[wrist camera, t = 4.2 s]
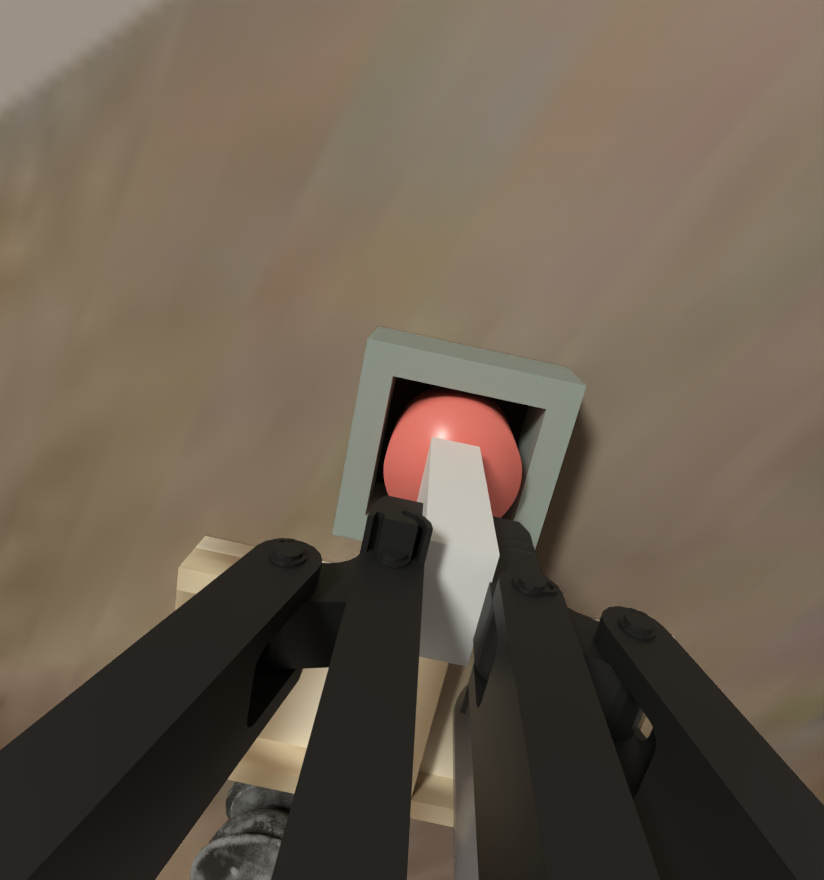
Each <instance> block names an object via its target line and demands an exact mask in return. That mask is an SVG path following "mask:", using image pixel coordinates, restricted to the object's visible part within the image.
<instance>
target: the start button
mask: <svg viewBox="0 0 824 880" xmlns="http://www.w3.org/2000/svg"><path fill="white" fill-rule="evenodd" d="M432 437H436V438H441V439H445V440H450V441H455V442H459V443H464V444H469V445H473V446H478V447H480V451H481V456H482V462H483V467H484V473H485V478H486V484H487V489H488V494H489V500H490V505H491V511H492V516H494V517H499V518H501V517H502V516H503V515H504V514H505V513H506V512H507V511H508V509H509V508H510V507H511V505H512V504H513V502H514V500H515V498H516V496H517V494H518V491H519V488H520V484H521V479H522V463H521V458H520V454H519V451H518V448H517V445H516V442H515V440H514V437H513V434H512V431H511V428H510V425H509V423H508V420H507V418H506V416H505V414H504V412H503V411H502V410H501V408H500V407H499V406H498V405H497V404H496V402H495V401H494V400H492V399H491V398H490V397H487V396H483V395H478V394H474V393H469V392H464V391H460V390H455V389H450V388H446V387H441V386H438V387H434V388H431V389H429V390H426V391H424V392H422V393H420V394H419V395H417V396H416V397H415V398H413V399H412V400H411V401H410V402H409V403H408V404H407V405H406V406H405V407H404V409H403V410H402V411H401V413H400V415H399V416H398V418H397V421H396V423H395V426H394V429H393V432H392V436H391V439H390V442H389V446H388V449H387V452H386V456H385V460H384V482H385V486H386V490H387V493H388V495H389V496H392V497H397V498H402V499H406V500H411V501H416V502H417V499H418V494H419V490H420V486H421V481H422V477H423V473H424V468H425V464H426V459H427V455H428V451H429V446H430V442H431V438H432Z"/></svg>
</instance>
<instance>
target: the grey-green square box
mask: <svg viewBox="0 0 824 880" xmlns="http://www.w3.org/2000/svg"><path fill="white" fill-rule="evenodd" d="M397 377H400V378H404V379H409V380H413V381H418V382H423V383H427V384H432V385H437V386H441V387H446V388H450V389H455V390H460V391H464V392H469V393H474V394H478V395H483V396H487V397H492V398H497V399H501V400H506V401H510V402H515V403H520V404H524V405H528V408H527V412H526V415H525V419H524V422H523V426H522V429H521V433H520V436H519V440H518V443H517V448H518V451H519V454H520V458H521V463H522V479H521V484H520V488H519V491H518V494H517V496H516V498H515V500H514V502H513V504H512V505H511V507H510V508H509V509H508V511H507V512H506V513H505V514H504V515H503V516H502V517H501V518H503V519H508V520H513V521H517V522H520V523H521V524H522V525H523V526H524V527H525V528H526V529H527V530H528V531H529V533H530V535H531V538H532V542H533V546H534V548H535V549H536V546H537V542H538V539H539V536H540V533H541V530H542V526H543V523H544V520H545V517H546V514H547V510H548V507H549V504H550V501H551V498H552V494H553V491H554V488H555V485H556V482H557V478H558V475H559V472H560V469H561V466H562V462H563V459H564V456H565V453H566V450H567V447H568V443H569V440H570V437H571V434H572V431H573V427H574V424H575V421H576V418H577V415H578V411H579V408H580V405H581V402H582V399H583V395H584V392H585V389H586V385H585V384H584V383H583V382H582V381H581V380H580V379H579V378H578V377H577V376H576V375H575V374H574V373H573V372H572V371H571V370H570V369H569V368H568V367H564V366H559V365H555V364H550V363H545V362H541V361H536V360H532V359H527V358H522V357H518V356H513V355H509V354H504V353H499V352H495V351H490V350H486V349H481V348H476V347H472V346H467V345H462V344H458V343H453V342H449V341H444V340H439V339H435V338H430V337H426V336H421V335H416V334H412V333H407V332H403V331H398V330H393V329H389V328H384V327H380V326H378V328H377V329H376V330H375V331H374V332H373V333H372V334H371V335H370V336H369V337H368V339H367V344H366V350H365V356H364V361H363V367H362V372H361V378H360V383H359V389H358V394H357V400H356V405H355V411H354V416H353V422H352V428H351V433H350V439H349V444H348V450H347V455H346V461H345V466H344V472H343V477H342V483H341V488H340V494H339V499H338V505H337V511H336V516H335V522H334V527H333V533H332V535H337V536H342V537H346V538H351V539H356V540H360V541H363V536H364V531H365V526H366V521H367V516H368V514H369V513H370V512H371V510H373V509H374V506H375V502H376V501H378V500H379V499H381V498H382V497H384V496H385V495H388V493H387V490H386V486H385V484H383V483H378V482H376V477H377V472H378V467H379V462H380V457H381V452H382V447H383V442H384V437H385V432H386V427H387V423H388V418H389V413H390V408H391V403H392V398H393V393H394V388H395V383H396V378H397ZM388 496H389V495H388Z"/></svg>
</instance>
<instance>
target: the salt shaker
mask: <svg viewBox="0 0 824 880" xmlns="http://www.w3.org/2000/svg"><path fill="white" fill-rule="evenodd" d="M293 797H294V794H293V793H288V792H284V791H279V790H274V789H269V788H265V787H260V786H255V785H250V784H246V783H241V782H235V784H234V785H233V786H232V788H231V789H230V791H229V793H228V796H227V800H226V814H227V816H228V819H229V820H228V821H227V822H226V823H225V824H224V825H223V826H222V827H221V828H220V829H219V830H218V831H217V833H216V834H215V835H214V836H213V838H212V839H211V840H210V842H209V844H208V845H206V846H205V847H204V848H202V849H201V851H200V852H199V853H198V855H197V856H196V857H195V859H194V861H193V865H192V868H191V872H190V875H191V880H271V878H272V874H273V870H274V867H275V863H276V859H277V856H278V852H279V848H280V845H281V841H282V837H283V834H284V830H285V826H286V823H287V819H288V815H289V812H290V808H291V804H292V801H293Z"/></svg>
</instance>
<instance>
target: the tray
mask: <svg viewBox="0 0 824 880" xmlns="http://www.w3.org/2000/svg"><path fill="white" fill-rule="evenodd" d="M254 547H255V546H250V545H246V544H241V543H236V542H232V541H227V540H222V539H218V538H213V537H208V536H205V537H204V538H203V539H202V540H201V542H200V543H199V544H198V545H197V546H196V547H195V549H194V550H193V551H192V552H191V553H190V554H189V556H188V557H187V558H186V559H185V560H184V562H183V563H182V564H181V565H180V566H179V568H178V580H177V592H176V604H175V610H177V609H178V608H179V607H180V606H182V605H183V604H184V603H185V602H187V601H188V600H189V599H190V598H192V597H193V596H194V595H195V594H197V593H198V592H199V591H200V590H202V589H203V588H204V587H205V586H207V585H208V584H209V583H210V582H212V581H213V580H214V579H215V578H217V577H218V576H219V575H220V574H222V573H223V572H224V571H225V570H227V569H228V568H229V567H230V566H232V565H233V564H234V563H235V562H237V561H238V560H239V559H240V558H242V557H243V556H244V555H246V554H247V553H248V552H249V551H251V550H252V549H253V548H254ZM322 563H330V562H325V561H322ZM595 620H597V619H595ZM597 621H600V620H597ZM673 637H674V636H673ZM674 639H675V638H674ZM473 664H474V649H472V652H471V655H470V659H469V662H468V666H462V665H457V664H452V663H448V662H443V661H438V660H433V659H428V658H424V657H419V669H418V687H417V705H416V722H415V740H414V758H413V775H412V793H411V811H410V818H412V819H417V820H422V821H426V822H431V823H436V824H441V825H445V826H450V827H453V723H452V720H453V709H454V705H455V702H456V700H457V698H458V696H459V694H460V692H461V691H462V690H463V689H464V687H465V686H466V685H467V684H468V681H469V678H470V674H471V671H472V667H473ZM328 668H329V667H327V668H305V669H303V671H302V674H301V676H300V679H299V681H298V682H297V683H296V685H295V686H294V688H293V689H292V690H291V692H290V693H289V695H288V696H287V697H286V699H285V700H284V701H283V703H282V704H281V706H280V707H279V708H278V710H277V711H276V713H275V714H274V715H273V717H272V718H271V719H270V721H269V722H268V724H267V725H266V726H265V728H264V729H263V731H262V732H261V733H260V735H259V736H258V737H257V739H256V740H255V742H254V743H253V744H252V746H251V747H250V749H249V750H248V751H247V753H246V754H245V755H244V757H243V758H242V760H241V761H240V762H239V764H238V765H237V767H236V768H235V769H234V771H233V772H232V773H231V775H230V776H229V778H228V779H227V780H231V781H236V782H241V783H246V784H250V785H255V786H260V787H265V788H269V789H274V790H279V791H284V792H288V793H293V794H294V793H295V790H296V786H297V782H298V779H299V775H300V771H301V768H302V764H303V760H304V757H305V753H306V749H307V746H308V742H309V738H310V735H311V731H312V727H313V724H314V720H315V716H316V713H317V709H318V705H319V701H320V698H321V694H322V690H323V687H324V683H325V679H326V676H327V672H328ZM638 727H639V729H640V730H641V732H642V733H643V735H644V736H645V737H646V738H648V737H649V735H650V733H651V731H652V728H653V727H652V725H651V723H650V721H649V719H648V718H647V717H646V715H645V714H644V713H643V715H642V717H641V720H640V722H639V724H638Z"/></svg>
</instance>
